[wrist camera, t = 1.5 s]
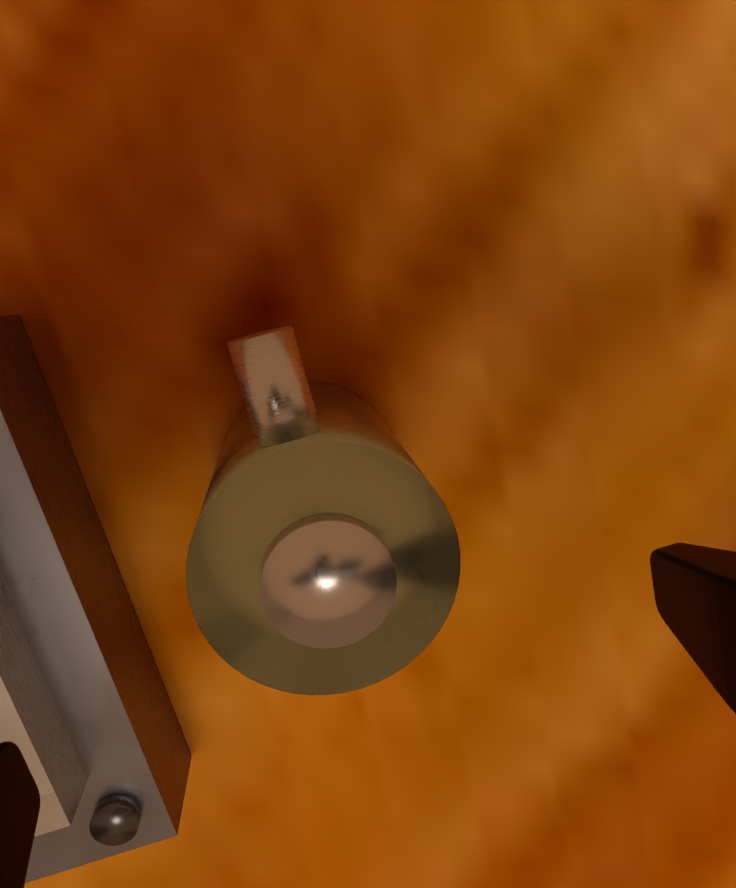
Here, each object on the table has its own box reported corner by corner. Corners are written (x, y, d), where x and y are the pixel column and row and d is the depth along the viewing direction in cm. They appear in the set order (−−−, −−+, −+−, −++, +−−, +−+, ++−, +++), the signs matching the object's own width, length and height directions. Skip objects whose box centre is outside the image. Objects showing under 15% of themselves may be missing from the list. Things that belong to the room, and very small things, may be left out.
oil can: (412, 522, 19) (492, 666, 12) (249, 569, 19) (232, 745, 12) (355, 292, 18) (410, 301, 10) (173, 340, 17) (99, 383, 10)
